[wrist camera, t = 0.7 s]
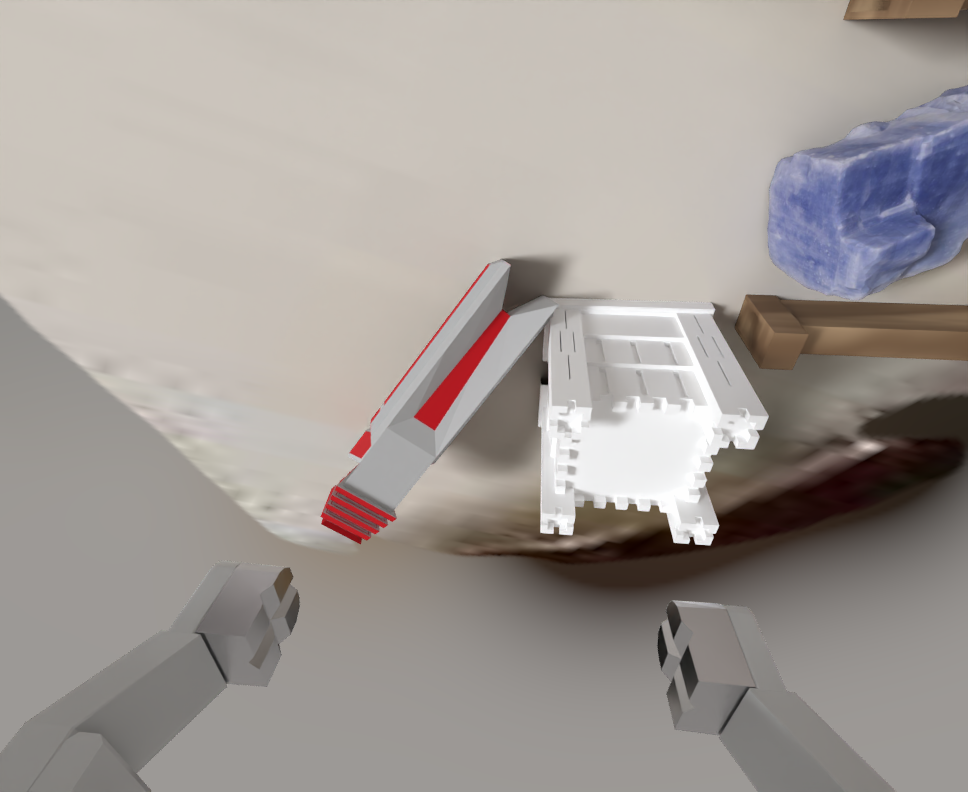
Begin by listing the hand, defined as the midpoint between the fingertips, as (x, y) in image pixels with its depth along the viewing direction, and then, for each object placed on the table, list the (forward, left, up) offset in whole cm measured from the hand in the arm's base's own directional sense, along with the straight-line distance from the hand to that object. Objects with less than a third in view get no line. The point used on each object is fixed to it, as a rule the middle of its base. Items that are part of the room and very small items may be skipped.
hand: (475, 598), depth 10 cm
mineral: (-1, +25, -34) cm, 42 cm away
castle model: (+16, +9, -34) cm, 39 cm away
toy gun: (+18, -9, -34) cm, 40 cm away
